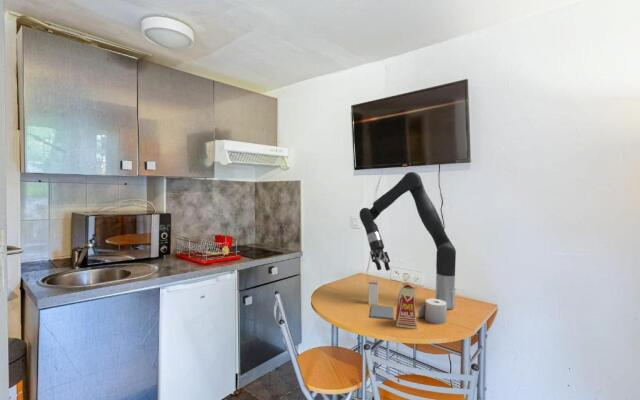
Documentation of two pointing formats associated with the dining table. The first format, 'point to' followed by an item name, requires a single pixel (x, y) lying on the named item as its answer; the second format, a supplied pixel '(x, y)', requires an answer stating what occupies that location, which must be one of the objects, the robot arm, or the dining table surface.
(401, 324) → the milk carton
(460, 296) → the dining table surface
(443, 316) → the toilet tissue
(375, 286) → the block
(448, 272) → the robot arm
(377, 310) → the mat
